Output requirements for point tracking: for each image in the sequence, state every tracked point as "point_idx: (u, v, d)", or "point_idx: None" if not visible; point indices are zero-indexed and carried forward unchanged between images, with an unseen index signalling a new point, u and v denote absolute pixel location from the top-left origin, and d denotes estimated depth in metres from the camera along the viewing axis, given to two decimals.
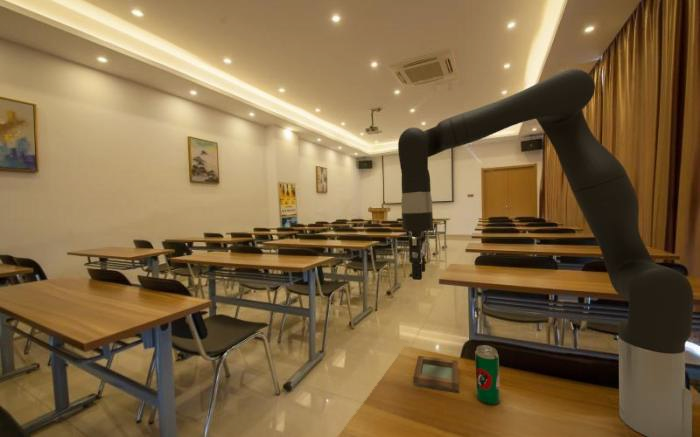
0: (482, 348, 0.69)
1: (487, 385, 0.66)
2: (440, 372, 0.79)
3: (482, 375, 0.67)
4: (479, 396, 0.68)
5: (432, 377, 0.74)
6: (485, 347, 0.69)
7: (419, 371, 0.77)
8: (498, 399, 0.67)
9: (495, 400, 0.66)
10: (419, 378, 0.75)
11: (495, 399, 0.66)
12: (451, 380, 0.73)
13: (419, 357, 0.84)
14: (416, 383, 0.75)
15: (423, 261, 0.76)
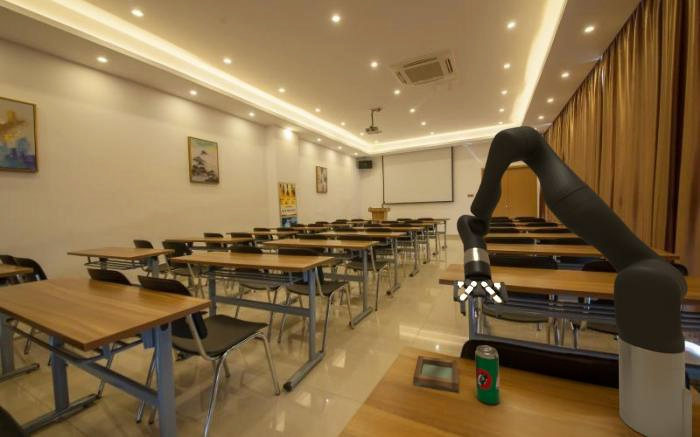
0: (482, 348, 0.69)
1: (487, 385, 0.66)
2: (440, 372, 0.79)
3: (482, 375, 0.67)
4: (479, 396, 0.68)
5: (432, 377, 0.74)
6: (485, 347, 0.69)
7: (419, 371, 0.77)
8: (498, 399, 0.67)
9: (495, 400, 0.66)
10: (419, 378, 0.75)
11: (495, 399, 0.66)
12: (451, 380, 0.73)
13: (419, 357, 0.84)
14: (416, 383, 0.75)
15: (496, 306, 0.79)
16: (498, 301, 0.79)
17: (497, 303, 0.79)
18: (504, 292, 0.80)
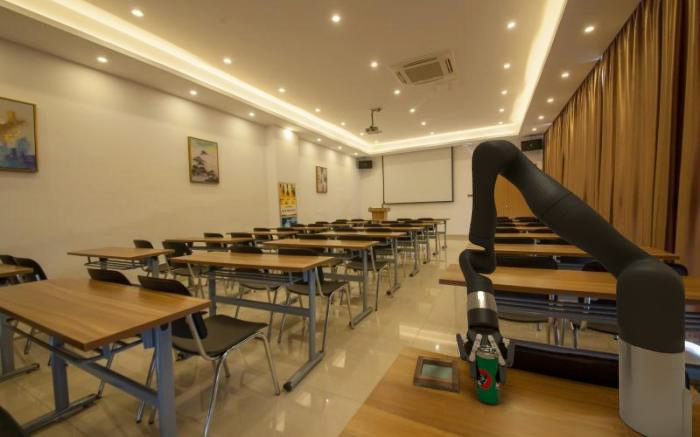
0: (482, 348, 0.69)
1: (487, 385, 0.66)
2: (440, 372, 0.79)
3: (482, 375, 0.67)
4: (479, 396, 0.68)
5: (432, 377, 0.74)
6: (485, 347, 0.69)
7: (419, 371, 0.77)
8: (498, 399, 0.67)
9: (495, 400, 0.66)
10: (419, 378, 0.75)
11: (495, 399, 0.66)
12: (451, 380, 0.73)
13: (419, 357, 0.84)
14: (416, 383, 0.75)
15: (499, 370, 0.67)
16: (501, 363, 0.67)
17: (500, 366, 0.67)
18: (511, 352, 0.68)
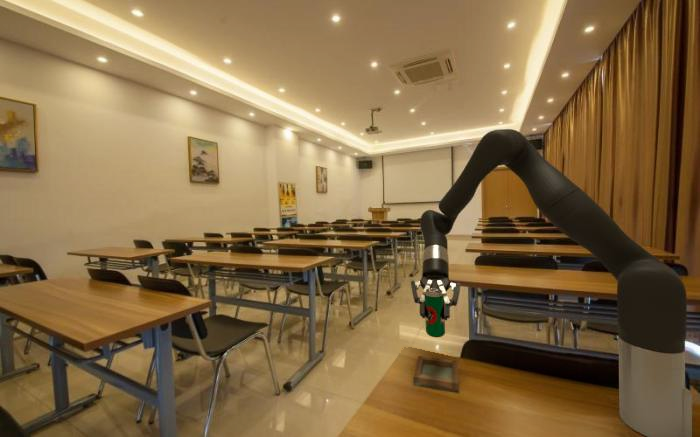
0: (430, 290, 0.78)
1: (433, 320, 0.76)
2: (440, 372, 0.79)
3: (429, 311, 0.76)
4: (427, 331, 0.77)
5: (432, 377, 0.74)
6: (433, 289, 0.79)
7: (419, 371, 0.77)
8: (443, 332, 0.76)
9: (440, 333, 0.76)
10: (419, 378, 0.75)
11: (440, 332, 0.76)
12: (451, 380, 0.73)
13: (419, 357, 0.84)
14: (416, 383, 0.75)
15: (444, 307, 0.77)
16: (446, 302, 0.77)
17: (445, 304, 0.77)
18: (456, 293, 0.78)
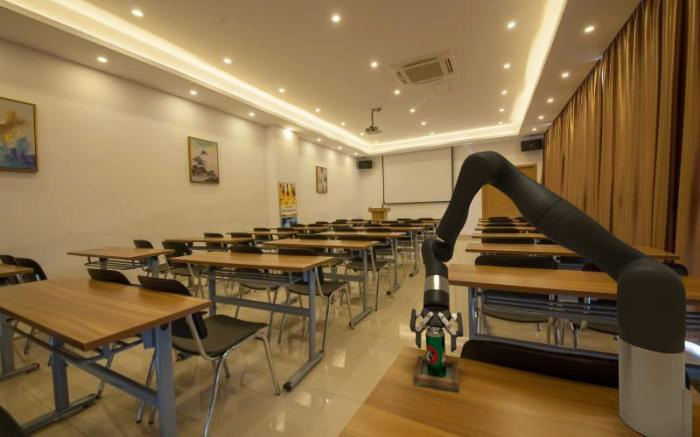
0: (431, 329, 0.79)
1: (434, 360, 0.76)
2: None
3: (430, 351, 0.77)
4: (428, 370, 0.78)
5: (432, 377, 0.74)
6: (434, 328, 0.79)
7: (419, 371, 0.77)
8: (444, 372, 0.77)
9: (441, 373, 0.76)
10: (419, 378, 0.75)
11: (442, 372, 0.76)
12: (451, 380, 0.73)
13: (419, 357, 0.84)
14: (416, 383, 0.75)
15: None
16: (453, 334, 0.77)
17: (452, 336, 0.77)
18: (460, 324, 0.78)
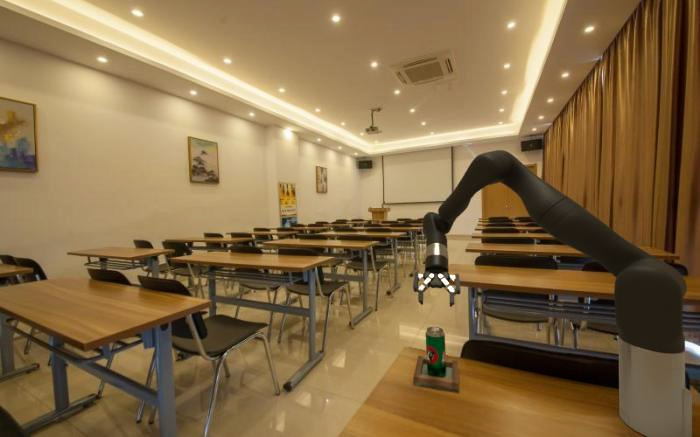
0: (431, 328, 0.79)
1: (434, 360, 0.76)
2: None
3: (431, 351, 0.77)
4: (428, 370, 0.78)
5: (432, 377, 0.74)
6: (434, 328, 0.79)
7: (419, 371, 0.77)
8: (444, 372, 0.77)
9: (441, 373, 0.76)
10: (419, 378, 0.75)
11: (442, 372, 0.76)
12: (451, 380, 0.73)
13: (419, 357, 0.84)
14: (416, 383, 0.75)
15: (449, 295, 0.87)
16: (451, 291, 0.87)
17: (450, 293, 0.87)
18: (458, 283, 0.89)
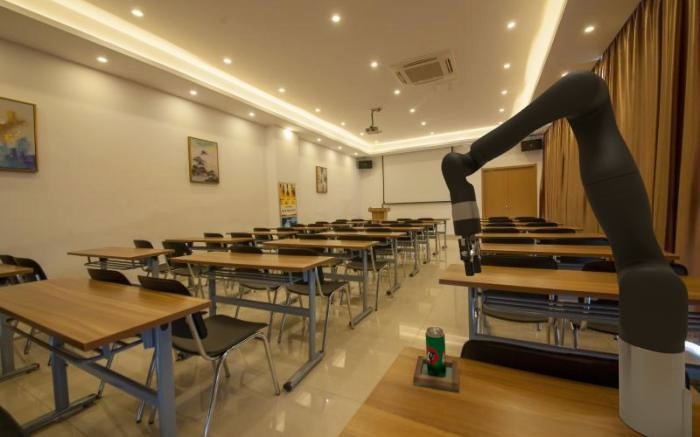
0: (431, 329, 0.79)
1: (434, 360, 0.76)
2: None
3: (431, 352, 0.77)
4: (428, 371, 0.78)
5: (432, 377, 0.74)
6: (434, 328, 0.79)
7: (419, 371, 0.77)
8: (444, 372, 0.77)
9: (441, 373, 0.76)
10: (419, 378, 0.75)
11: (442, 372, 0.76)
12: (451, 380, 0.73)
13: (419, 357, 0.84)
14: (416, 383, 0.75)
15: (478, 263, 0.86)
16: (480, 258, 0.86)
17: (479, 260, 0.86)
18: (480, 249, 0.88)
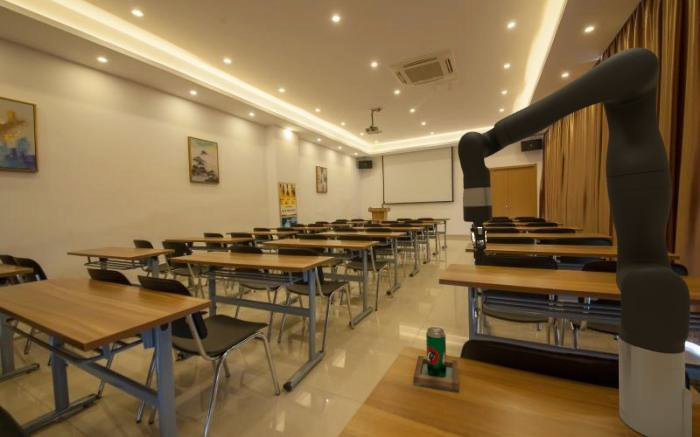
0: (432, 329, 0.79)
1: (435, 360, 0.76)
2: None
3: (431, 352, 0.76)
4: (429, 371, 0.78)
5: (432, 377, 0.74)
6: (435, 328, 0.79)
7: (419, 371, 0.77)
8: (444, 373, 0.77)
9: (442, 373, 0.76)
10: (419, 378, 0.75)
11: (442, 372, 0.76)
12: (451, 380, 0.73)
13: (419, 357, 0.84)
14: (416, 383, 0.75)
15: None
16: (481, 245, 0.85)
17: None
18: None
